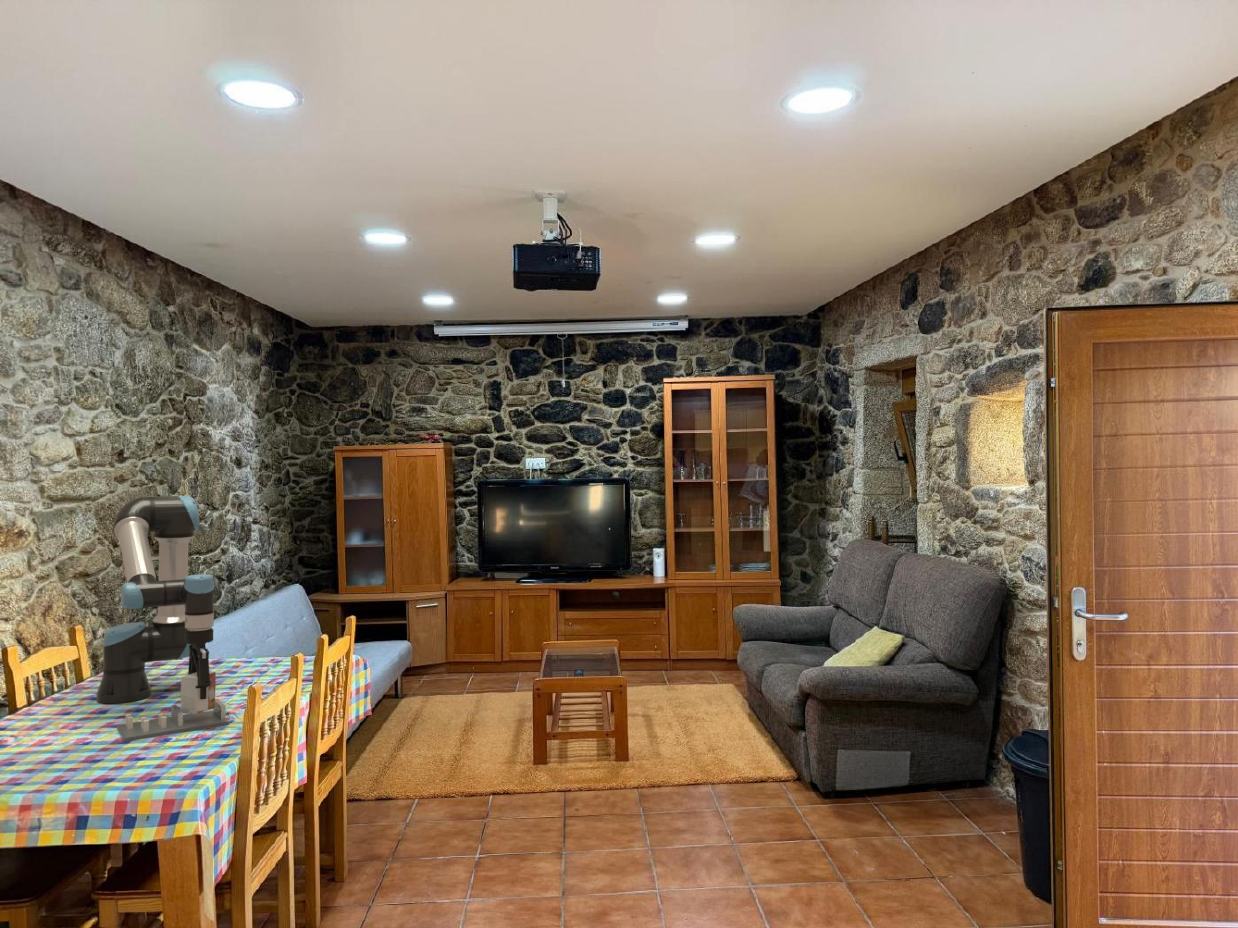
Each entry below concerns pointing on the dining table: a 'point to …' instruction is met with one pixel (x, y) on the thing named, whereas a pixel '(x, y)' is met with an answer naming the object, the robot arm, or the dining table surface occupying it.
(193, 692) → the small box
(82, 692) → the dining table surface
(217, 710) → the end holder
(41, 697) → the dining table surface
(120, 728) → the board
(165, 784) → the dining table surface
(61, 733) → the dining table surface
